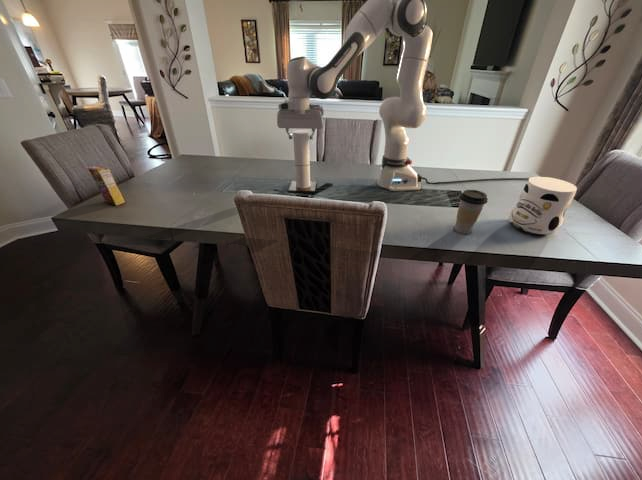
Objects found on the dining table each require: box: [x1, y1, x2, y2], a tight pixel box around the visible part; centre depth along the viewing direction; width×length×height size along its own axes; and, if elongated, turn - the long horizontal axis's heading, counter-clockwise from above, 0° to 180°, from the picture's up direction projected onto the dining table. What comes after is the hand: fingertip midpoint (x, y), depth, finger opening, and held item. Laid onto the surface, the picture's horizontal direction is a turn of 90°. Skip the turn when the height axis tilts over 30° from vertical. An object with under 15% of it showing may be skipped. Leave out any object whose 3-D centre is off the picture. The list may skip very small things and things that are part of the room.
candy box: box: [87, 165, 126, 206], centre depth 122 cm, size 9×4×15 cm, turn 60°
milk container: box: [508, 176, 578, 236], centre depth 107 cm, size 17×17×18 cm
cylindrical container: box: [292, 129, 311, 188], centre depth 134 cm, size 7×7×25 cm
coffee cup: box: [454, 189, 489, 235], centre depth 106 cm, size 9×9×15 cm
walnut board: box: [287, 180, 318, 194], centre depth 142 cm, size 13×13×1 cm
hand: (301, 139), depth 129 cm, fingers open, 8 cm apart
